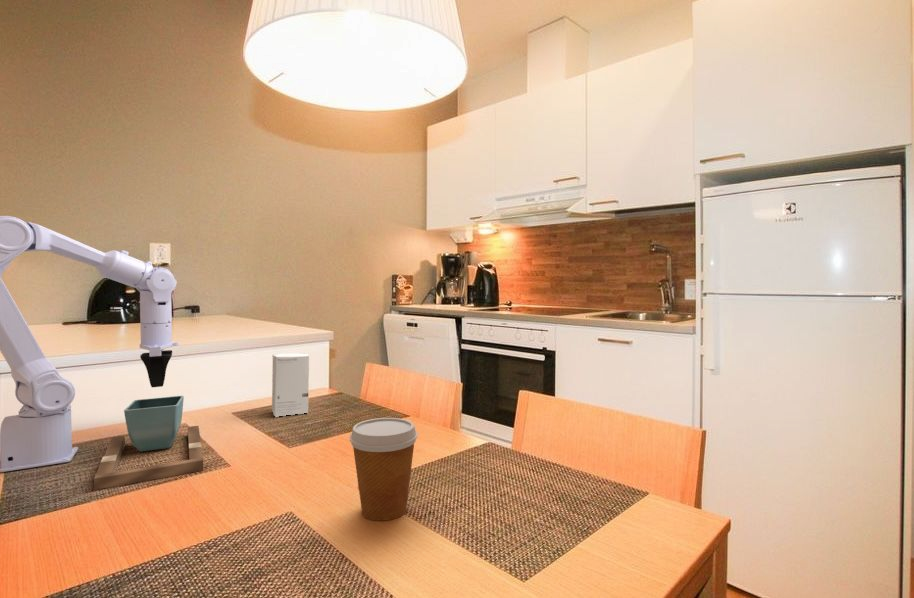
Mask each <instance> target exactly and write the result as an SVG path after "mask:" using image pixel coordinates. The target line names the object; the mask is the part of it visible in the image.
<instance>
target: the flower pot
mask: <svg viewBox="0 0 914 598" xmlns="http://www.w3.org/2000/svg"><path fill="white" fill-rule="evenodd" d="M184 398H185V397H184V395H173V396H164V397H154V398H152V397H151V398H143V399H142V398H141V399H135V400H133V401H132V402H131V403H130V404H129V405H128V406H127V407H126V408H125V409H124V410H123V413H124V417H125V418H124V419H125V425H126V430H127V434H128V437H129V439H130V442H131V443H132V445H133V446H134V447H135V448H136V449H137V451H139V452H142V453H143V451H144V452H149V451H157V450H166V449H169V448H171V446H172V445H173V443H174V442H175V441H174V440H175V439H176V437H177V435H178V433H179V430H180V426H181V423H182V419H183V409H184V408H183V407H184Z"/></svg>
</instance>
